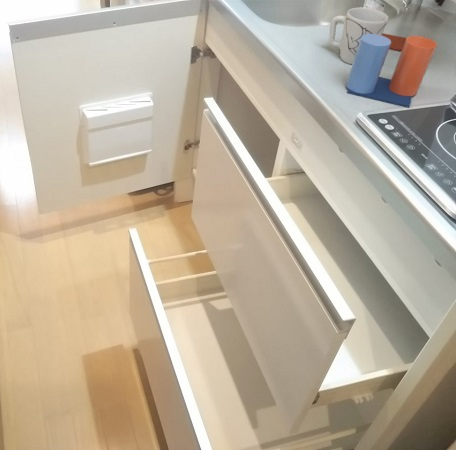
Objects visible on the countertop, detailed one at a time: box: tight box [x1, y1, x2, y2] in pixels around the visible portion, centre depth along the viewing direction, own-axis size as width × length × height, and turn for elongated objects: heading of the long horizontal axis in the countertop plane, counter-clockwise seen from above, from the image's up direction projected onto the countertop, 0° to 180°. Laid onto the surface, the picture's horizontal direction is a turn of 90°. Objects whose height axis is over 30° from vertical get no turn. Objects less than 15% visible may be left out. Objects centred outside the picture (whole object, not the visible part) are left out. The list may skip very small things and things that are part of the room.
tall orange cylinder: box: [389, 35, 438, 97], centre depth 103 cm, size 6×6×10 cm
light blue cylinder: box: [345, 34, 391, 94], centre depth 102 cm, size 6×6×10 cm
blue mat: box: [346, 76, 413, 109], centre depth 106 cm, size 12×10×1 cm
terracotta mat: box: [382, 32, 407, 53], centre depth 125 cm, size 10×8×1 cm
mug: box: [328, 6, 389, 65], centre depth 114 cm, size 11×8×10 cm
